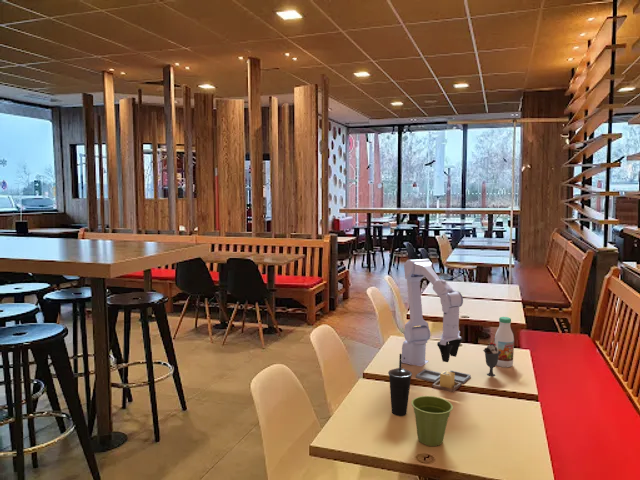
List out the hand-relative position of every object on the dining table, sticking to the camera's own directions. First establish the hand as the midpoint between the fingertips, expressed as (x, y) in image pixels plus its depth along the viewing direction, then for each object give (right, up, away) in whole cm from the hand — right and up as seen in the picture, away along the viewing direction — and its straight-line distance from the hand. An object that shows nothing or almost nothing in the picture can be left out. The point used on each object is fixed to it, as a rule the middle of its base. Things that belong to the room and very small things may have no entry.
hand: (449, 358), depth 194 cm
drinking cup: (-23, -12, -25) cm, 36 cm away
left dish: (-6, -9, +5) cm, 12 cm away
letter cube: (-2, -9, -4) cm, 10 cm away
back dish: (+4, -9, +4) cm, 11 cm away
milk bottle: (+28, -7, +21) cm, 35 cm away
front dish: (-2, -10, -4) cm, 11 cm away
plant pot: (-16, -14, -43) cm, 49 cm away
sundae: (+18, -9, +8) cm, 22 cm away
